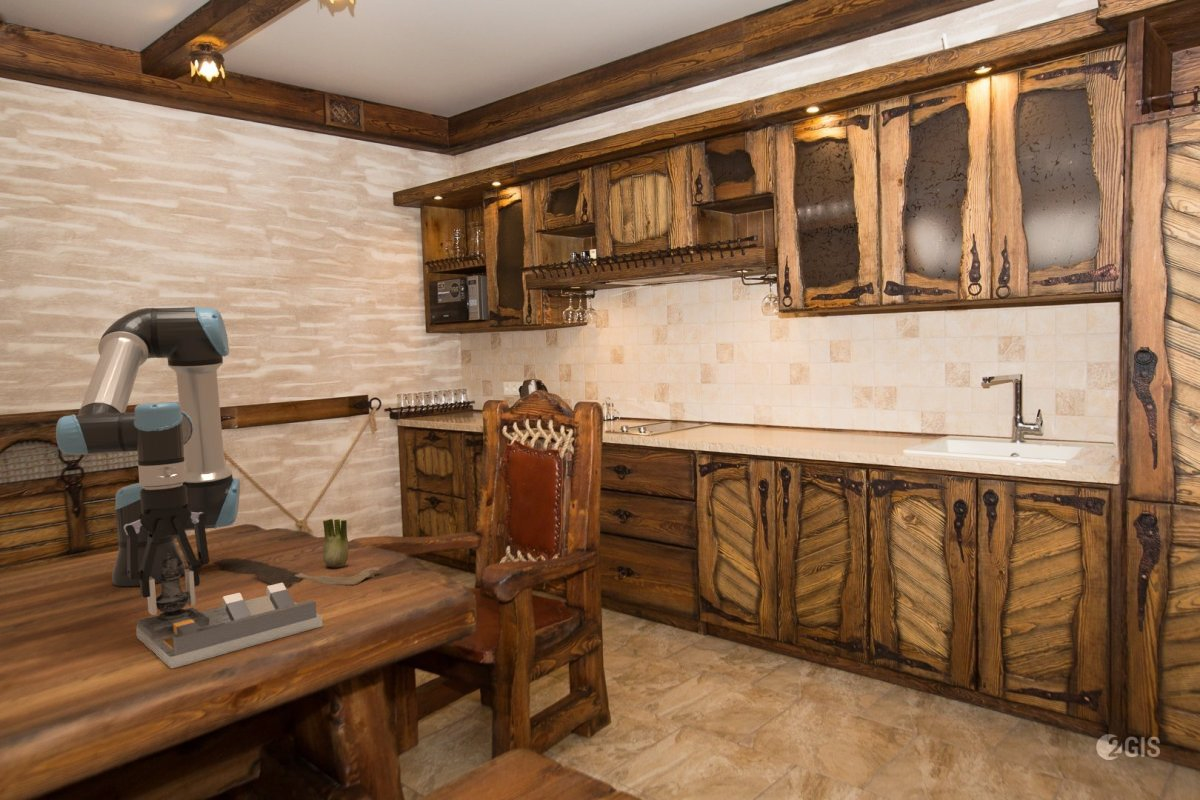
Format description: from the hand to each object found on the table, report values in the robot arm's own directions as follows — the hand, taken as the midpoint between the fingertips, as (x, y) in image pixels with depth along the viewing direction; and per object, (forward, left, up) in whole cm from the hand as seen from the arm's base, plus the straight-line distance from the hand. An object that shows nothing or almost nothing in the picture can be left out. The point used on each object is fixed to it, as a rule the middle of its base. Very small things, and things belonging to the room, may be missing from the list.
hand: (172, 608), depth 142 cm
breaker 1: (+11, +8, -1) cm, 13 cm away
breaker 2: (+11, +16, -1) cm, 19 cm away
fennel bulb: (-22, +42, -6) cm, 48 cm away
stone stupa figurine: (0, 0, -2) cm, 2 cm away
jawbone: (-13, +38, -6) cm, 41 cm away
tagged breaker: (+10, 0, -3) cm, 10 cm away
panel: (+6, +8, -5) cm, 11 cm away
